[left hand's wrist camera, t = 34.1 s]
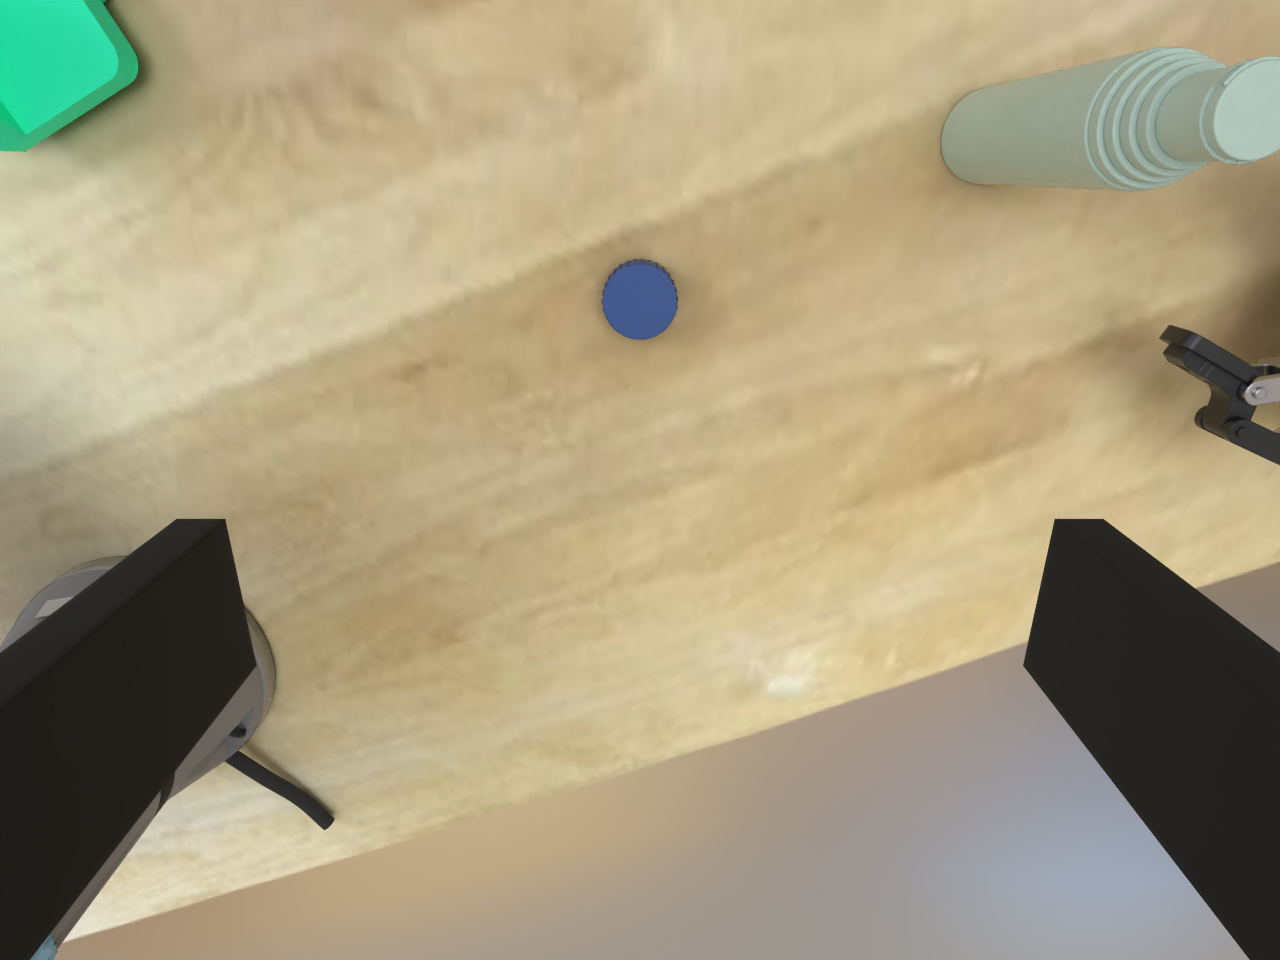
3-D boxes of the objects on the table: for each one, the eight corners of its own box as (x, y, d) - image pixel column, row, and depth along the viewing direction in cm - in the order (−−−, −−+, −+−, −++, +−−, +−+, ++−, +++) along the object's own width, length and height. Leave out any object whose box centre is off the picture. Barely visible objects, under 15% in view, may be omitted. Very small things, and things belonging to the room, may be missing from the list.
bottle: (1049, 128, 39) (1378, 97, 22) (982, 202, 40) (1242, 229, 23) (988, 66, 38) (1283, -20, 21) (922, 144, 39) (1146, 125, 22)
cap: (609, 252, 41) (608, 256, 39) (683, 265, 41) (685, 270, 39) (598, 325, 43) (596, 333, 41) (668, 338, 43) (670, 346, 41)
